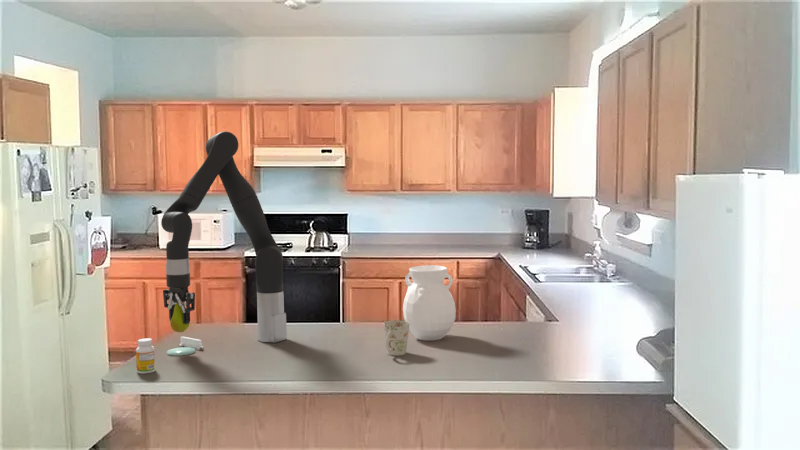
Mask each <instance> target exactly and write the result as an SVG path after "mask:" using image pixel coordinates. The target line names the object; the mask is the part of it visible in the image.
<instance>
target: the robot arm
mask: <svg viewBox="0 0 800 450" xmlns="http://www.w3.org/2000/svg"><path fill="white" fill-rule="evenodd" d="M238 150H239V140H238V138H237V136H236V135H235V134H233V133H232V132H230V131H221V132H218V133H215V134H214V135H212V136H211V137H209V138H208V140H207V141H206V142H205V152H206V155H207V157H206V158H205V160H204V162H203V163H202V164H201V165H200V167H199V168H198V169H197V171H195V173H194V174H193V175H192V177H191V178H190V179H189V181H188V182H187V184H185V187H184V188H183V190H182V191H181V194H180V195H179V197H178V198H177V199H176V200H175V201H174V202H173V203H172V204H171V205H170V206H169V207H168V208H167V210H165V212H164V213H163V215H162V217H161V221H160V222H161V223H160V225H161V227H162V229H163V230H164V231H165V232H167V233H171V234H172V238H171V240H169V241H168V242H167V243H166V247H165V250H166V252H165V253H166V264H165V275H166V276H165V278H166V281H165V282H166V287H167V288H166V289H163V290H162V296H163V305H164V306H163V307H164V308H167V310H168V318H169V321H171V318H172V316H173V312H174V308H175V305H176V303H179V306H180V307H182V310H183V312H184V313H183V323H184V324H188V323H189V324H191V312H192V311H195V309H196V307H195V306H196V305H195V304H196V292H189V287H190V286H191V265H190V256H189V255H190V253H189V245H190V240H191V235H192V230H193V221H192V218H191V216H190V213H192V212H195V211H197V209H199V207H200V205H201V204H202V202H203V200H204V199H205V197H206V195H207V193H208V192H209V190H210V188H211V186H213V183H214V182H215V180H216V179H217V177H218V176H219V178H220V180H221V181H220V182H221V184H222V185H223V187H224V191H225V192H226V195H227V197H228V200H229V203H230V204H231V207H232V209H233V211H234V214H235V216H236V218H237V220H238V221H239V223H240V224H241V226H242V227H243V229H244V230H245V232H246V234H247V235H248V236H249V239H250V242H251V244H252V247H253V250H254V253H255V264H254V265H255V285H256V302H257V303H256V305H257V307H256V310H257V339H258V340H257V341H259V342H261V343H278V342H281V341H284V340H287V337H288V334H287V313H286V312H285V305H284V304H285V303H284V302H285V301H284V296H285V295H284V274H283V271H284V270H283V267H284V265H283V260H284V255H283V253H282V251H281V249H280V248H279V246H278V244H277V242H276V241H275V239H274V237H273V235H272V233H271V231H270V229H269V226H268V223H267V218H266V216H265V213H264V210H263V207H262V205H261V203H260V200H259V198H258V195H257V193H256V190H255V189H254V188H253V186H252V185H251V184H250V182H249V181H248V180H247V179H246V178H245V177H244V175H242V173H241V171H240V170H239V169H238V167H237V164H236V162H235V159H234V155H235V154H236V153H237V152H238Z"/></svg>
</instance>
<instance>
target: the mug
mask: <svg viewBox="0 0 800 450" xmlns="http://www.w3.org/2000/svg"><path fill="white" fill-rule="evenodd" d="M383 332H384V338H385V348H386V352H387V354H388V356H389V355H390V356H395V357H396V356H403V355H406V354H407V350H408V349H407V347H408V340H409V339H408V338H409V333H410V330H409V322H407V321H405V320H389V321H384V322H383Z"/></svg>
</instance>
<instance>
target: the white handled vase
mask: <svg viewBox="0 0 800 450" xmlns="http://www.w3.org/2000/svg"><path fill="white" fill-rule="evenodd" d="M408 271H409V272H408V273H407V274H406V275H405V276H404V277H405V278H404V281H405V284H406V286H407V290H406V294H405V297H404V299H403V302H402V303H403V305H402V314H403V319H404V320H403V321H407V322H409V332H411V333H412V335H413V336H414V337H415V338H416V339H417V340H420V341H430V342H431V341H439V340H442V339H444V337H446V335H447V334H448V333H449V332H450V331H451V330H452V328H453V326H454V324H455V321H456V319H457V318H456V315H457V314H456V313H457V311H456V309H457V308H456V303H455V300H454V299H455V298H454V297H453V294H452V293H451V291H450V288H451V287H452V285H453V282H454V279H453V276H452V275H450V274H449V273H448V268H447V267H446V266H443V265H436V264H428V265H427V264H426V265H425V264H424V265H418V266H411V267H410V268H409V269H408ZM410 278H411V279H410ZM447 278H448V281H449V283H448V284H446V285H445V283H444V281H445V279H447ZM410 280H412V281H410Z"/></svg>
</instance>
